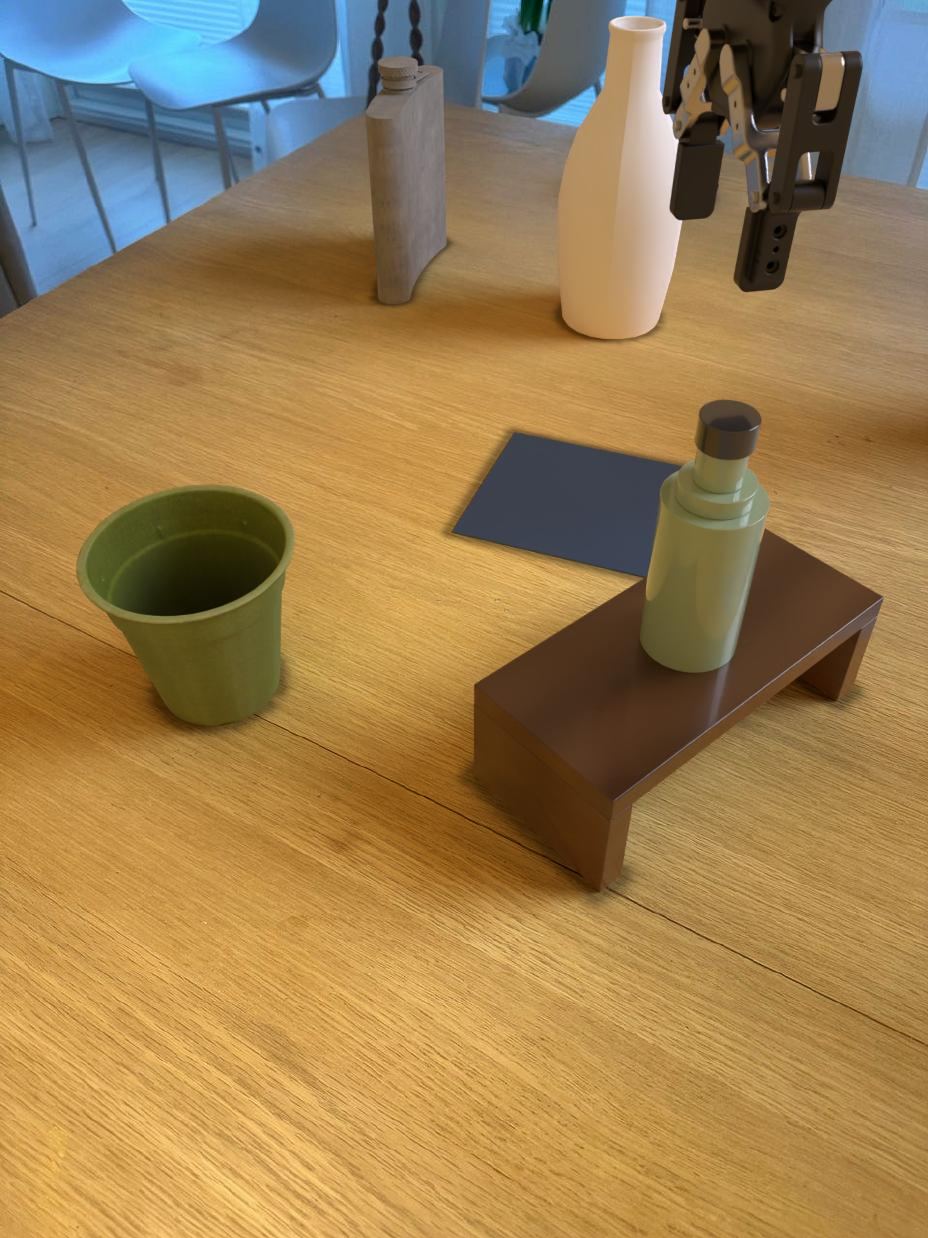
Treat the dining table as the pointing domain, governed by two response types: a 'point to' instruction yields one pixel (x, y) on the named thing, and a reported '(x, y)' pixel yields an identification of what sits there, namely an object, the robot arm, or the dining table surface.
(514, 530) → the mat
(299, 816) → the dining table surface
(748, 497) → the spice bottle
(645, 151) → the bottle
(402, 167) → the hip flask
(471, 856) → the dining table surface
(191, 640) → the plant pot
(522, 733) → the shelf
